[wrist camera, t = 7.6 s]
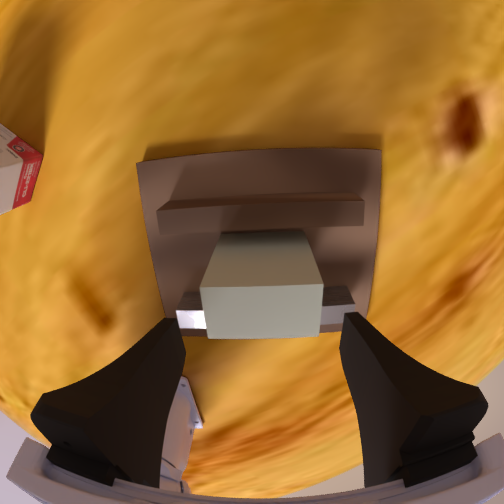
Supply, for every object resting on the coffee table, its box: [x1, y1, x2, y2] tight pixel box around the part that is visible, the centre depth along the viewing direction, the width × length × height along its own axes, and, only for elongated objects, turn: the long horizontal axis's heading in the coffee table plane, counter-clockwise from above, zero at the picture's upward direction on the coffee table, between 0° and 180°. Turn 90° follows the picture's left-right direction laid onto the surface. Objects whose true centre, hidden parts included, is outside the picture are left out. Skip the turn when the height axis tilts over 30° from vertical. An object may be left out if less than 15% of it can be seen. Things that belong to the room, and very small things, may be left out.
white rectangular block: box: [199, 231, 324, 339], centre depth 16 cm, size 3×6×7 cm, turn 93°
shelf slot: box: [136, 148, 381, 336], centre depth 19 cm, size 14×16×4 cm
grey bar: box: [176, 286, 355, 329], centre depth 20 cm, size 2×12×2 cm, turn 93°
